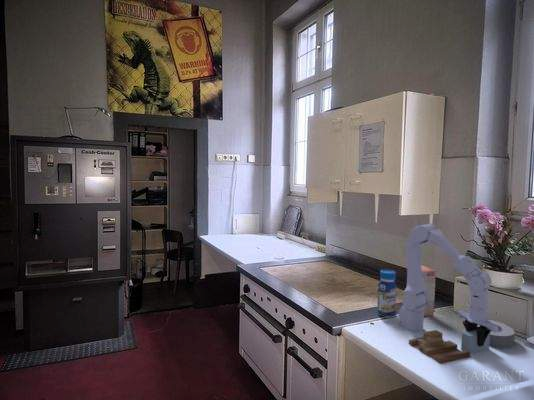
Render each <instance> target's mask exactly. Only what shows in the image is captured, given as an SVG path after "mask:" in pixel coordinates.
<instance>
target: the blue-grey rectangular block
mask: <svg viewBox="0 0 534 400" xmlns="http://www.w3.org/2000/svg"><path fill="white" fill-rule="evenodd" d="M489 342H490V333H489V334H488V336H487V338H486V340H485V342H484V345H483V346H480V347H479V346H478V344H477V331H476V330H473V331H468V332H467V331H464V332H461V348H460V351H464V350H468V351H470V354H474V353H480V352H484V351H488V350H490V346H489Z"/></svg>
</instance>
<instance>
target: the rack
mask: <svg viewBox="0 0 534 400" xmlns="http://www.w3.org/2000/svg"><path fill="white" fill-rule="evenodd" d="M418 339H423V336H422V337H418V338H412V339H408V345H410V346H412V347H413V348H414V349H416V350H418V351H419V352H421V353H423V354H424V355H425V356H427V357H429V358H430V359H432V360H434V361H435V362H437V363H438V364H441V365H442V364H446V363H447V364H448V363H451V362H454V361H455V362H456V361H460V360H464V359H468V358H472V356H471V353H470V351H468V350H464V351H462V350H461V349H458V344H457V343H455V342H453V341H451V340H445V341H444V340H443V342H439V343H434V344H429V345H424V346H419V345H418Z"/></svg>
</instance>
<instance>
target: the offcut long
mask: <svg viewBox="0 0 534 400" xmlns="http://www.w3.org/2000/svg"><path fill="white" fill-rule="evenodd" d="M443 341H444V339H443V338H442V340H439V341H433V342H428V341H427V340H425V339H418V345H419V346H424V345H429V344H434V343H439V342H443Z"/></svg>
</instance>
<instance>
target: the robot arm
mask: <svg viewBox="0 0 534 400" xmlns="http://www.w3.org/2000/svg"><path fill="white" fill-rule="evenodd" d="M425 244H430V245H431V244H432V245H435V246H438V248H439V249H440V250H441V251H442V252H444V253H445V255H446V256H447V257H449V258H450V259H451V260H452V264H453V267H454V268H455V269H456V270H457V271H458V272H459V274H461V276H462V277H463V278H464V279H466V280H467V282H466V283H467V286H468V287H469V299H468V312H466V311H464V310H460V311H458V314H457V316H458V318H463V319H465V320H463V321H462V325H463V327H464V329H465V330H466V331H465V332H468V331H473V330H476V331H477V344H478V346H479V347H480V346H483V345H484V342H485V340H486V338H487V336H488V334H489V333H490V332H491V331H492V332H498V328H499V326H497V325H495V324H493V323H492V322H490V321H489V320H490V319H488V308H489V287H490V286H491V285H492V278H491V277H490V275H489V273H487V272H485V271H483V270H482V269H481V268H479V267H478V266H477V265H476V263H474V262H473V259H472V258H471V257H468V255H462V254H460V252H459V251H458V250H457V249H456V248H455V246H454V245H453V244H452V243H451V241H449V240H448V239H447V237H446V236H445V235H444V233H443V231H442V230H441V229H439V228H438V227H437V226H436V224H433V223H426V224H422V225H415V227H414V228H412V229H410V234H409V235H408V238H407V240H406V244H405V247H406V275H407V276H406V283H407V282H408V285H407V284H406V288H405V289H404V290H403V296H402V299H401V303H402V305H401V306H400V309H399V311H398V324H399V325H400V326H402V327H403V328H405V329H406V330H408V331H411V332H422V331H424V322H425V321H424V318H425V316H424V305H425V304H426V303H427V296H426V294H425V288H424V287H423V286H422V274H421V265H422V249H421V248H422V247H423V246H424V245H425ZM478 325H480V326H479V327H477V326H478Z"/></svg>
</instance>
